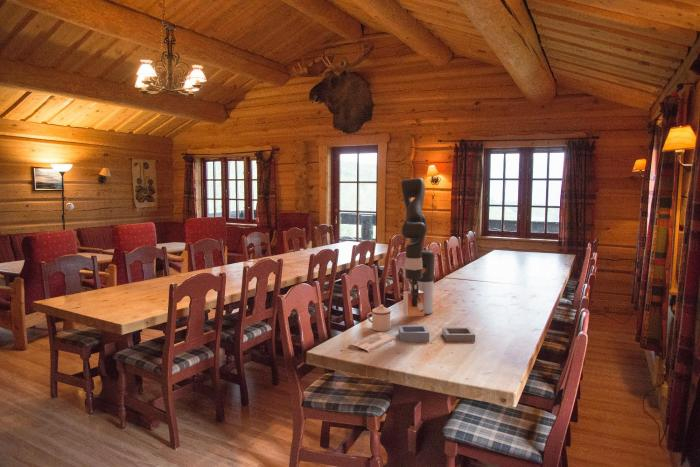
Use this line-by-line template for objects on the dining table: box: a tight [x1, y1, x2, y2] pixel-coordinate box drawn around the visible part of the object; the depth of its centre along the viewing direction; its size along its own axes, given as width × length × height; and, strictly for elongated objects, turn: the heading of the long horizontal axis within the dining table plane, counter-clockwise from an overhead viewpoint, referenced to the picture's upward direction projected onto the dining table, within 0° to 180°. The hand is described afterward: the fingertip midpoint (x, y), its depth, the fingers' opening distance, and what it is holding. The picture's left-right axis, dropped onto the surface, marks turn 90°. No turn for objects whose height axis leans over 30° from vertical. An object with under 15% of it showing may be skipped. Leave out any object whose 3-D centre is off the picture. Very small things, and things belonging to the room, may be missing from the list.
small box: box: [402, 290, 425, 318], centre depth 210 cm, size 8×6×10 cm
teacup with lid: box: [366, 304, 392, 332], centre depth 225 cm, size 12×9×12 cm
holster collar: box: [441, 326, 476, 342], centre depth 211 cm, size 10×12×3 cm
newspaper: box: [348, 331, 398, 353], centre depth 206 cm, size 23×12×2 cm, turn 142°
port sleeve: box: [398, 325, 430, 343], centre depth 211 cm, size 10×12×4 cm
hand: (413, 304), depth 210 cm, fingers closed on small box, 6 cm apart
